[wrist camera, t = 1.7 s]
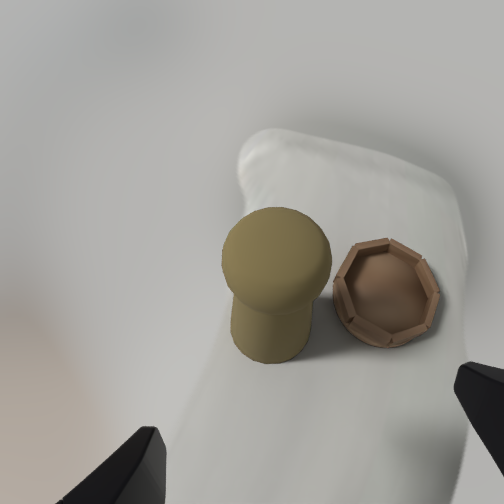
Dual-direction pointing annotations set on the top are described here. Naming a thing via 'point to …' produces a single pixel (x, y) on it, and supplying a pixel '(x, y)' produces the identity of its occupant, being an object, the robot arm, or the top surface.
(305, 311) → the cork
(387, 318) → the walnut stand
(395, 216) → the top surface
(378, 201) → the top surface
